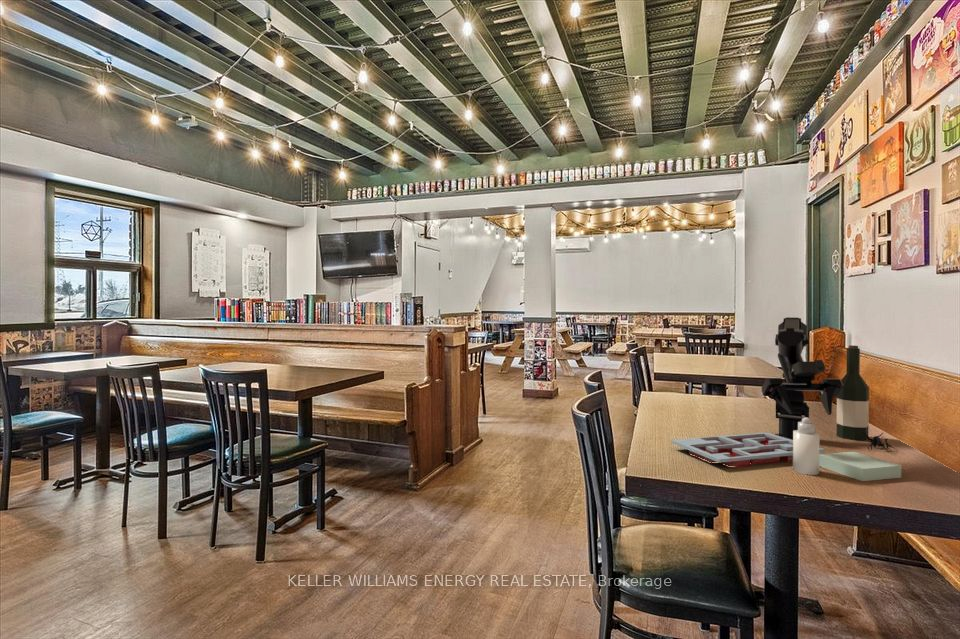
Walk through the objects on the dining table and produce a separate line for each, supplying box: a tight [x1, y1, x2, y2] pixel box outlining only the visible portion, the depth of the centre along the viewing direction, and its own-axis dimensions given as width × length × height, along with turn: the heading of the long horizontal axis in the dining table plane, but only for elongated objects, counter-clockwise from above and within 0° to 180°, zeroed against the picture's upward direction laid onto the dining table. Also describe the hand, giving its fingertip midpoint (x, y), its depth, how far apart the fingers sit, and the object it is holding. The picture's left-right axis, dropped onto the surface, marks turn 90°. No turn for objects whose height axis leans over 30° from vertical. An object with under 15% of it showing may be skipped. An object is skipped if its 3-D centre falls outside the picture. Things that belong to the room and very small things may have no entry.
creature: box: [862, 432, 898, 453], centre depth 141 cm, size 8×5×8 cm
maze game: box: [670, 431, 825, 467], centre depth 138 cm, size 35×20×3 cm, turn 105°
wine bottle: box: [836, 344, 870, 442], centre depth 156 cm, size 8×8×30 cm
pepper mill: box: [792, 416, 821, 476], centre depth 123 cm, size 6×6×14 cm
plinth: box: [819, 451, 902, 482], centre depth 123 cm, size 12×12×3 cm
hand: (810, 413), depth 129 cm, fingers open, 9 cm apart
